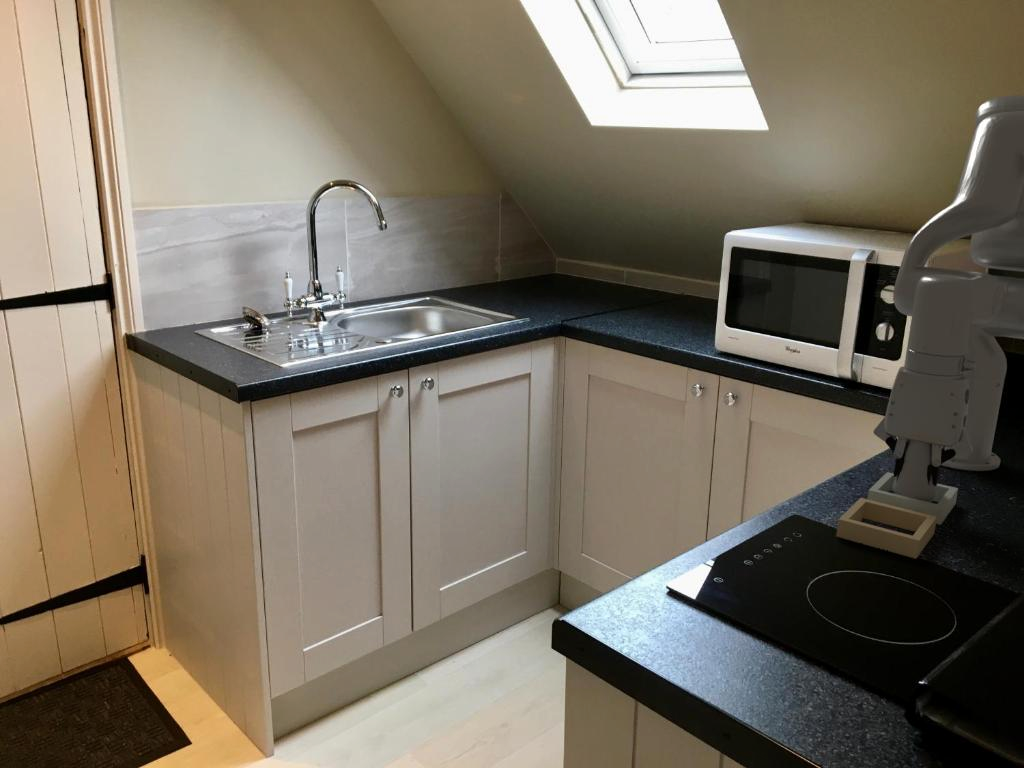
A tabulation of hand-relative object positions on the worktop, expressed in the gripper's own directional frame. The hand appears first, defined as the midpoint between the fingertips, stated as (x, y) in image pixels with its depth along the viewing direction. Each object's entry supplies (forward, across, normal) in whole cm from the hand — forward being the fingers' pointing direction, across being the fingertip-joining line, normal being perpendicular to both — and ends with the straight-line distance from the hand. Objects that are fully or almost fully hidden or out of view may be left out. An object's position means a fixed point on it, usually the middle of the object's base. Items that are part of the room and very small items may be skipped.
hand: (914, 484), depth 125 cm
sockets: (+3, 0, +7) cm, 8 cm away
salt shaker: (+3, 0, 0) cm, 3 cm away
